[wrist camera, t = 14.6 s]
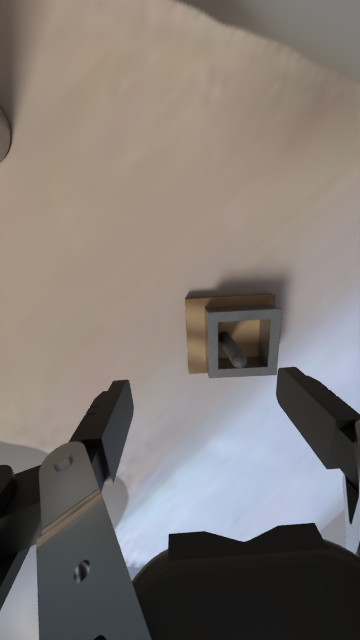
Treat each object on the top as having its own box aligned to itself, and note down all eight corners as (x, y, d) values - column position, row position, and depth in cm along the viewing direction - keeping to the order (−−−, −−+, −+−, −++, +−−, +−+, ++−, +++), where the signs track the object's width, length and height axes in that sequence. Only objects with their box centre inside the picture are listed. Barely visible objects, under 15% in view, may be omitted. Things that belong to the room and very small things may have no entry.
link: (204, 307, 32) (207, 312, 28) (269, 304, 32) (281, 308, 28) (205, 366, 35) (209, 378, 31) (265, 363, 35) (276, 374, 31)
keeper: (185, 298, 33) (187, 312, 22) (270, 293, 33) (316, 305, 22) (188, 369, 37) (191, 412, 26) (266, 366, 36) (303, 407, 25)
